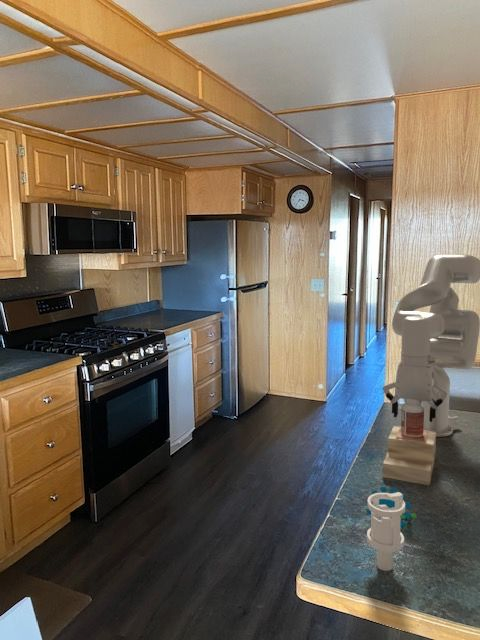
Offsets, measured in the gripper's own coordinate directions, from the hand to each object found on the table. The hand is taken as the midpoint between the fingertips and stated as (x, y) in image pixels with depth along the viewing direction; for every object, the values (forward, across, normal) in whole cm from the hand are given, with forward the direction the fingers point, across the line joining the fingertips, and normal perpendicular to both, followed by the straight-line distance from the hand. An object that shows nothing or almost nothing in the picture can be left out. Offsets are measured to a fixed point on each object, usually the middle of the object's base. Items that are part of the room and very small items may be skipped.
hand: (413, 418), depth 140 cm
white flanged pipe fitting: (+13, -1, +50) cm, 52 cm away
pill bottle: (+5, 0, 0) cm, 5 cm away
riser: (+13, 0, +4) cm, 14 cm away
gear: (+13, +1, +35) cm, 37 cm away
